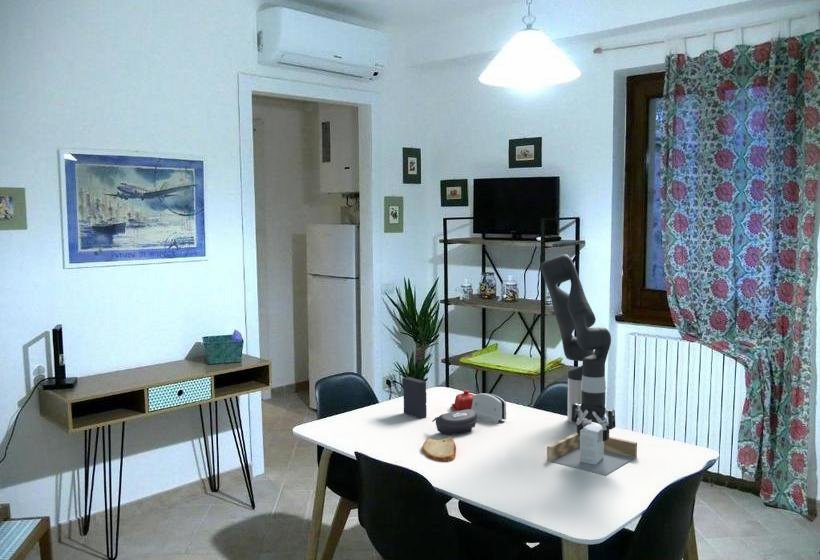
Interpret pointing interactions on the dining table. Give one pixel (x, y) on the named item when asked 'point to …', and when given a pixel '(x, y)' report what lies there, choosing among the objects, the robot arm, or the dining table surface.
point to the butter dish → (463, 401)
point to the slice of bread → (440, 449)
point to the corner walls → (574, 442)
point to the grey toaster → (489, 407)
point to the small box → (591, 444)
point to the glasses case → (456, 421)
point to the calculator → (414, 397)
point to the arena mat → (602, 467)
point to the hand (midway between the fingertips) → (592, 438)
